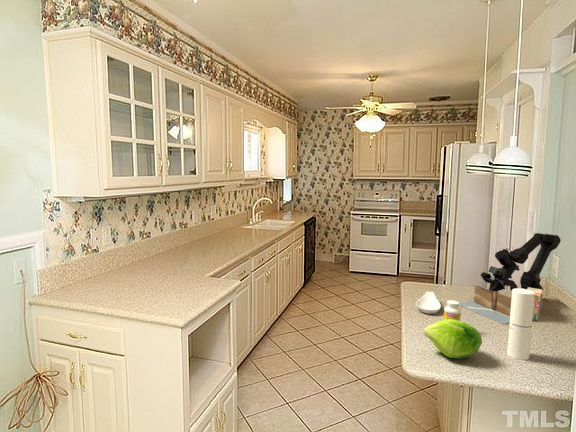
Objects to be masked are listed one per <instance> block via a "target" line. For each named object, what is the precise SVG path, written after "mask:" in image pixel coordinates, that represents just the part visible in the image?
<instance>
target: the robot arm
mask: <svg viewBox="0 0 576 432" xmlns="http://www.w3.org/2000/svg"><path fill="white" fill-rule="evenodd" d="M561 242H562V240H561V238H560V236H559V235H557V234H552V233H541V232H536V233H534V234H533V236H532V237H530V239H529V240H528V241H526V243H524V244H523V245H522V246H521V247H518V248H515V249H513V250H511V251H510V252H509V251H508V249H506V248H503V249H502V250H499V251H496V252H495V254H494V257H495V258H496V260H497V262H498V263H499V264H500V265H501V267H496V266H492V265H491V266H489V269H488V272H486V271H485V272H484V271H483V272H481V274H480V277H481V279H482V280H483V281H484V282H485V283H488V284H489V288H488V290H490V291H497V292H500V291H502V290H506V287H509V290H510V291H512V289H516V288H518V285H517V284H516V282H515V281H514V280H512V278H513V276H512V275H513V274H514V272H515V271H520V265H523V264H525V262H526V261H527V260H528V259H529V255H530V254H531V253H532V252H534V251H535V249H536V248H537V247H539V246H540V248H539V251H538V253H537V255H536V256H535V259H534V261H533V263H532V265H531V266H530V268H529V270H528V271H523V272H522V275H521V276H520V278H519V284H520V289H527V288H528V287H529V288H535V289H542V291H543V290H544V288H543V286H542V285H541V283H540V282H541V273H542V271H543V269H544V267H545V265H546V262H547V260H548V258H549V257H550V254H551V253H552V251H555V250H556V249H557V248H558V246H559V245H560V243H561ZM517 264H520V265H517Z"/></svg>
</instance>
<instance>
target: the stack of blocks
mask: <svg viewBox="0 0 576 432" xmlns="http://www.w3.org/2000/svg"><path fill="white" fill-rule="evenodd" d="M527 290H530V291H533V292H535V296H534V307H533V319H532V321H539V319H540V316H541V311H542V309H543V299H544V298H543V294H544V291H543V290H542V289H535V288H529V287H528V288H527Z"/></svg>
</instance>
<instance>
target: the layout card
mask: <svg viewBox="0 0 576 432" xmlns="http://www.w3.org/2000/svg"><path fill="white" fill-rule="evenodd" d="M459 306H460V307H462V308H464V309H466V310H469V311H472V312H474V313H476V314H477V315H481V316H483V317H485V318H487V319H490V320H492V321H494V322H497V323H499V324H501V325H507V324H508V325H509V324H510V317H509V316H506V315H504V314H501V313H499V312H496V311H493V310H492V308H489V307H486V306H484V305H481V304H479V303H476V302H474V300H470V301H463V302H459ZM459 306H458V307H459Z"/></svg>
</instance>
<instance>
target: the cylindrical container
mask: <svg viewBox="0 0 576 432" xmlns="http://www.w3.org/2000/svg"><path fill="white" fill-rule="evenodd" d="M534 296H535V292H533V291H530V290H527V289H522V288H516V289H512V290H511V298H512V300H511V312H510V323H509V324H508V325H509V328H508V339H507V350H506V354H507V356H509V357H510V358H513V359H515V360H520V361H528V360H529V359H530V353H531V341H532V340H531V339H532V331H533V320H532V319H533V307H534Z"/></svg>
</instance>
